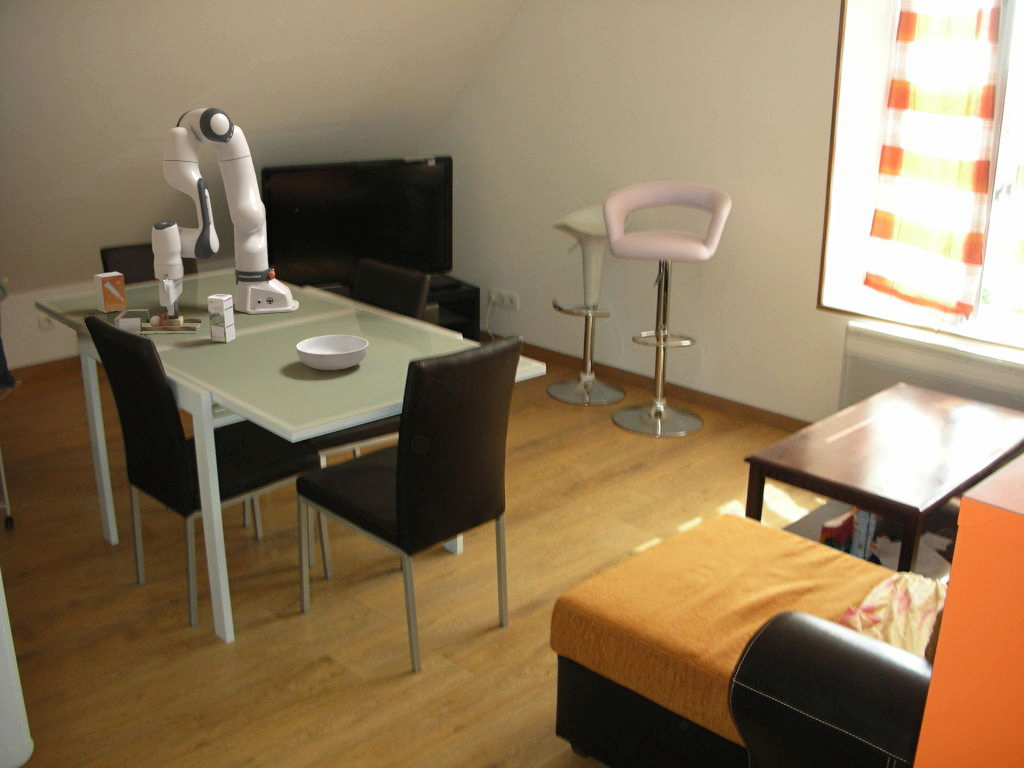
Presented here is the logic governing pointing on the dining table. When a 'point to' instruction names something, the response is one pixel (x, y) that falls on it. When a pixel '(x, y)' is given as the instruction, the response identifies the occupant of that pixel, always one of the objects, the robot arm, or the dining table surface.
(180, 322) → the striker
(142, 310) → the grey-white box
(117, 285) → the small box
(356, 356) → the serving bowl
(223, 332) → the syrup box
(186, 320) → the rails
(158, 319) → the ball
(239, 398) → the dining table surface
